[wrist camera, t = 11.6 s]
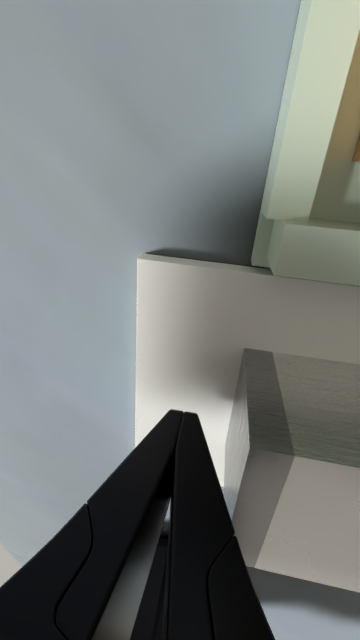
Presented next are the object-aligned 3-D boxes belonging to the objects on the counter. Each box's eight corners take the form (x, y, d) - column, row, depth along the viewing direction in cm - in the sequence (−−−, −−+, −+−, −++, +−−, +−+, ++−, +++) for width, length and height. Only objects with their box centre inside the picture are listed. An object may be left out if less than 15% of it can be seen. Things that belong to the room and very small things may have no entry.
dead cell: (408, 477, 9) (494, 624, 6) (225, 443, 10) (221, 559, 7) (473, 380, 8) (637, 519, 5) (244, 347, 8) (249, 447, 5)
